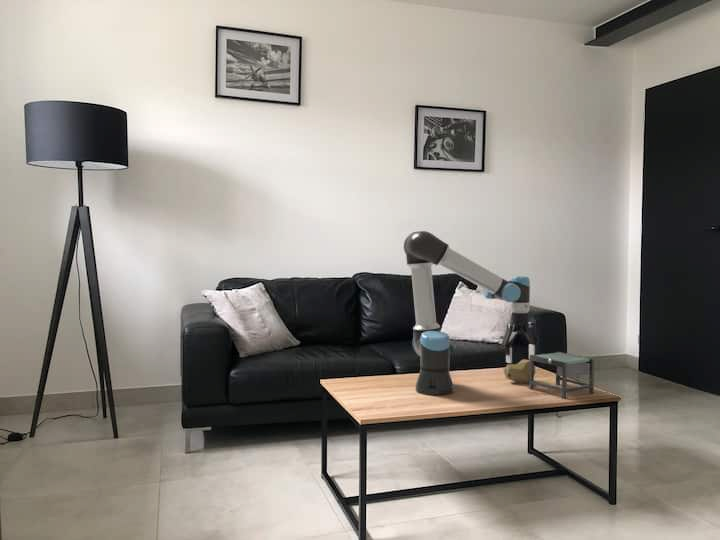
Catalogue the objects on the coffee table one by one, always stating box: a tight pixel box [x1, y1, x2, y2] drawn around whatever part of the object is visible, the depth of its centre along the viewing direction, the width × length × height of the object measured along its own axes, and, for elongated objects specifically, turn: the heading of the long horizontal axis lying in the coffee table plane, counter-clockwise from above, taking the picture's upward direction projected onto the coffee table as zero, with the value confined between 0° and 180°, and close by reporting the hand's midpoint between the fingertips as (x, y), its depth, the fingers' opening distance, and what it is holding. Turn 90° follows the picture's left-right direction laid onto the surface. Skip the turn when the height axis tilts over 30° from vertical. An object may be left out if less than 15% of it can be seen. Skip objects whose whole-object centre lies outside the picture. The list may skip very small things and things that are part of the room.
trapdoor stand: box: [528, 351, 595, 400], centre depth 240 cm, size 18×18×14 cm
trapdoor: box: [534, 352, 590, 377], centre depth 240 cm, size 14×16×6 cm
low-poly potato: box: [503, 358, 536, 384], centre depth 256 cm, size 15×11×12 cm
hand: (520, 361), depth 256 cm, fingers open, 13 cm apart
